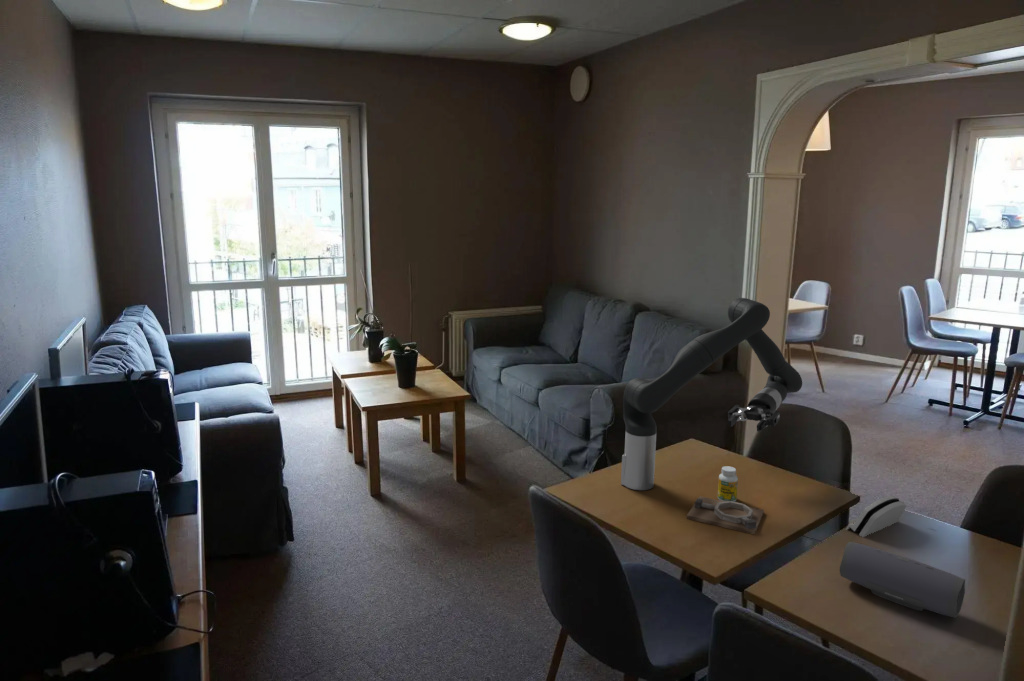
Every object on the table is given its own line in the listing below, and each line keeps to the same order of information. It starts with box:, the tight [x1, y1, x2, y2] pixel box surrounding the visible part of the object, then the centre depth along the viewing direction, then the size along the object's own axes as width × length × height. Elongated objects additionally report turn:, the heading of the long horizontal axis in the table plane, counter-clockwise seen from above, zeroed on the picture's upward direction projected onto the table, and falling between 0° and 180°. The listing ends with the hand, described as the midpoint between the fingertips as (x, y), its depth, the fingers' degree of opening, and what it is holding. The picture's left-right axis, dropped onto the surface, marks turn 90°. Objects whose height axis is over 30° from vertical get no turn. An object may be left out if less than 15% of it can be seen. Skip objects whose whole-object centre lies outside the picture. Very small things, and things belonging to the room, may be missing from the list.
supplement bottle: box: [717, 465, 739, 502], centre depth 199 cm, size 5×5×10 cm
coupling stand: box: [686, 495, 765, 535], centre depth 189 cm, size 18×14×3 cm
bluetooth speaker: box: [839, 541, 966, 619], centre depth 150 cm, size 23×9×10 cm, turn 46°
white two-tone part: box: [845, 495, 907, 538], centre depth 183 cm, size 17×5×10 cm, turn 122°
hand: (743, 426), depth 203 cm, fingers open, 8 cm apart
